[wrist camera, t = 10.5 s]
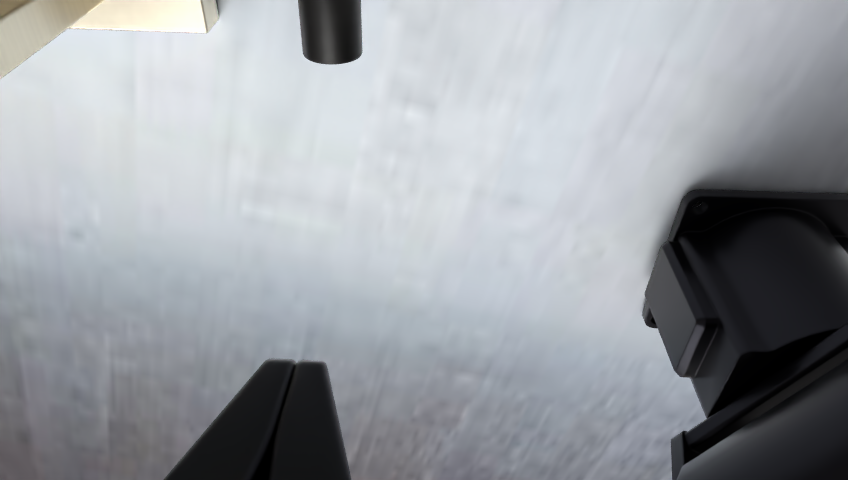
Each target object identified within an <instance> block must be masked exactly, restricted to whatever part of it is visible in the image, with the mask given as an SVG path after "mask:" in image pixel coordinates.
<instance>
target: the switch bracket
mask: <svg viewBox="0 0 848 480" xmlns="http://www.w3.org/2000/svg"><path fill="white" fill-rule="evenodd" d="M218 20H219V15H218V10H217V4H216V0H0V79H1V78H3V77H4V76H5V75H7V74H8V73H9V72H11V71H12V70H13V69H15V68H16V67H17V66H19V65H20V64H21V63H23V62H24V61H25V60H27V59H28V58H29V57H31V56H32V55H33V54H35V53H36V52H37V51H39V50H40V49H41V48H43V47H44V46H45V45H47V44H48V43H49V42H51V41H52V40H53V39H55V38H56V37H57V36H59V35H60V34H61V33H63V32H64V31H65V30H66V29H96V30H125V31H155V32H184V33H208V32H209V31H210V30H211V29H212V27H213V26H214V25H215V24H216V22H217V21H218Z"/></svg>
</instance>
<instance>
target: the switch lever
mask: <svg viewBox="0 0 848 480" xmlns="http://www.w3.org/2000/svg"><path fill="white" fill-rule="evenodd" d="M298 5H299V16H300V26H301V37H302V47H303V54H304V56H305V57H306V58H307V59H308V60H310V61H312V62H316V63H321V64H343V63H348V62H351V61H354V60H356V59H358V58H359V57H360V56H361V54H362V25H361V0H298Z"/></svg>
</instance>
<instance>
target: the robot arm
mask: <svg viewBox="0 0 848 480" xmlns="http://www.w3.org/2000/svg"><path fill="white" fill-rule="evenodd" d="M697 202H702V204H701V205H699V206H697V207H693V205H694V204H696V203H697ZM645 297H646V299H647V301H646V303H645V306H644V309H643V312H642V316H643V319H644V321H645V323H646V325H647V326H649V327H651V328H658V330H659V333H660V335H661V338H662V340H663V343H664V345H665V348H666V351H667V353H668V356H669V358H670V361H671V363H672V366H673V369H674V371H675V372H676V373H677V374H678V375H679V376H680V377H690V379H691V381H692V384H693V386H694V388H695V391H696V393H697V396H698V398H699V401H700V403H701V406H702V408H703V410H704V413H705V415H706V418H707V419H706V420H704V421H703V422H701V423H700V424H698V425H697V426H695V427H694V428H692V429H691V430H690V431H688V432H687V431H683V432H681V433H680V434H678V435H677V436H675V437H674V438H673V439H671V455H672V480H848V194H829V193H798V192H767V191H736V190H704V189H699V190H693V191H691V192H689V193H687V194H686V195H685V196H684V197H683V199H682V201H681V204H680V207H679V209H678V212H677V215H676V218H675V221H674V224H673V226H672V229H671V232H670V235H669V238H668V241H666V242H665V243H664V244H663V245H662V246H661V248H660V250H659V253H658V256H657V259H656V262H655V265H654V268H653V271H652V274H651V277H650V279H649V282H648V285H647V288H646V291H645ZM164 480H351V476H350V471H349V466H348V462H347V457H346V452H345V448H344V443H343V438H342V434H341V429H340V424H339V420H338V415H337V410H336V406H335V401H334V396H333V392H332V387H331V382H330V378H329V373H328V369H327V365H326V363H325V362H323V361H312V360H300V361H298V363H296V361H294V360H292V359H274V358H272V359H268V360H266V361H265V362H264V363H263V364H262V365H261V366H260V367H259V369H258V370H257V371H256V372H255V373H254V374H253V376H252V377H251V378H250V379H249V380H248V381H247V383H246V384H245V385H244V386H243V387H242V389H241V390H240V391H239V392H238V393H237V394H236V396H235V397H234V398H233V399H232V400H231V401H230V403H229V404H228V405H227V406H226V407H225V408H224V410H223V411H222V412H221V413H220V414H219V415H218V417H217V418H216V419H215V420H214V421H213V422H212V424H211V425H210V426H209V427H208V428H207V429H206V431H205V432H204V433H203V434H202V435H201V437H200V438H199V439H198V440H197V441H196V442H195V444H194V445H193V446H192V447H191V448H190V449H189V451H188V452H187V453H186V454H185V455H184V456H183V458H182V459H181V460H180V461H179V462H178V463H177V465H176V466H175V467H174V468H173V469H172V470H171V472H170V473H169V474H168V475H167V476H166V477H165V479H164Z"/></svg>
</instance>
